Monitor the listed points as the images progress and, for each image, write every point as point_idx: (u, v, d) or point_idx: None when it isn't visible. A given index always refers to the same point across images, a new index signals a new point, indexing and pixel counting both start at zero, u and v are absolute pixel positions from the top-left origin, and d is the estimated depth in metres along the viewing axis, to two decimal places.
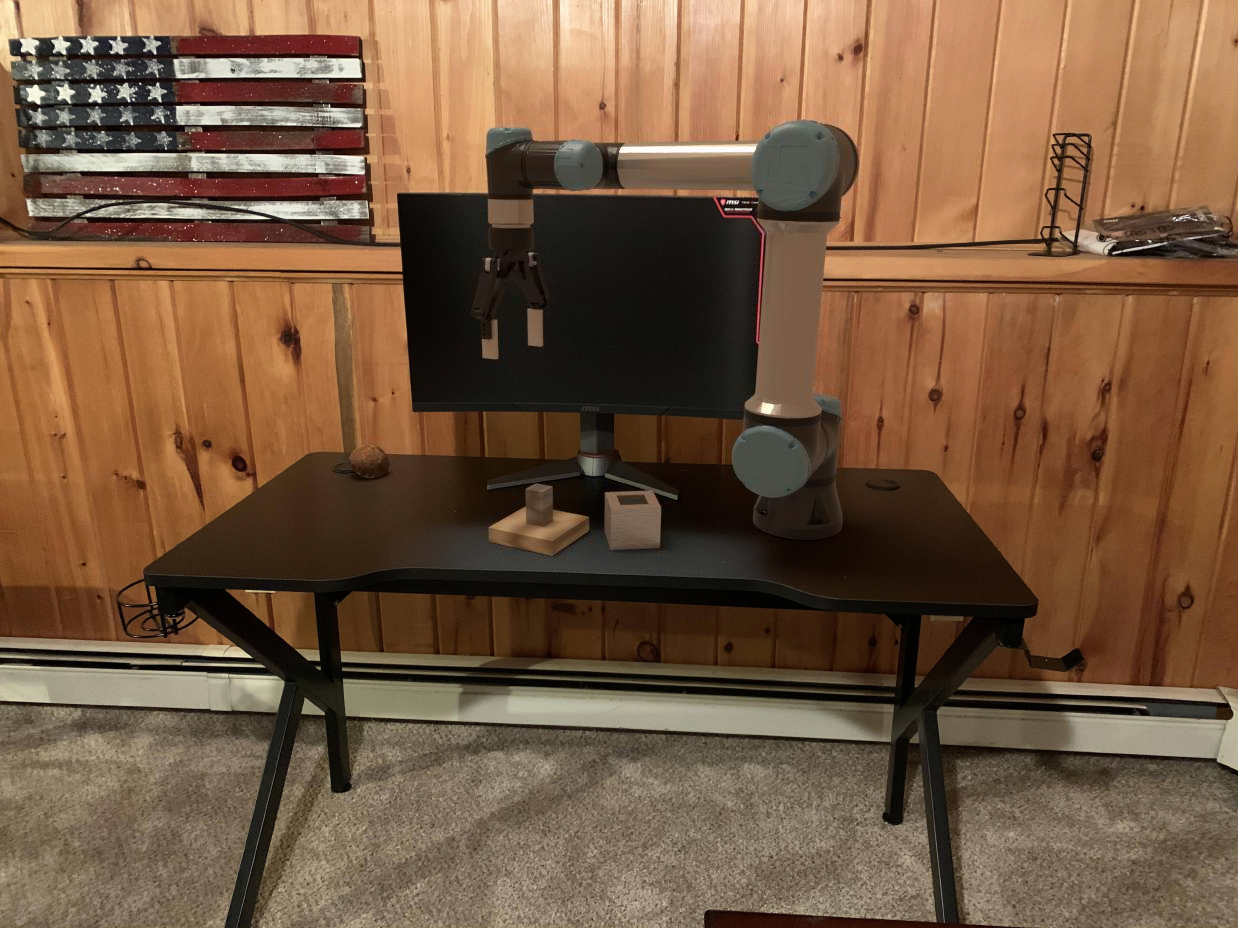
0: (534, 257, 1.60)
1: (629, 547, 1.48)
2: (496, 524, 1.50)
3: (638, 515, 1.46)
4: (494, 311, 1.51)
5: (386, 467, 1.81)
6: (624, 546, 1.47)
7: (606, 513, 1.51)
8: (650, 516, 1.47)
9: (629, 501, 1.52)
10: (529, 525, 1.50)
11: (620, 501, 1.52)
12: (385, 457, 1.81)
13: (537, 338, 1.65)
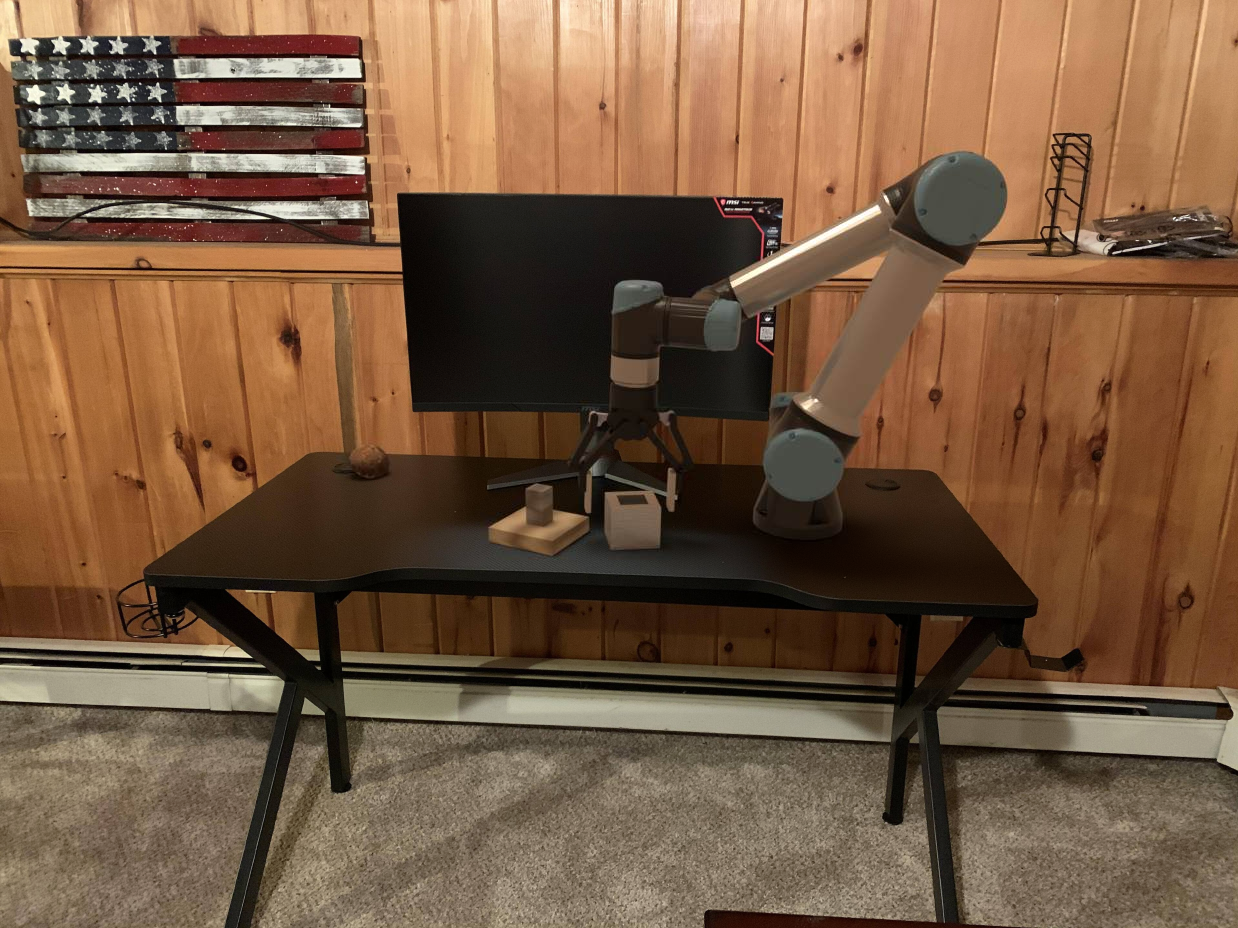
0: (668, 417, 1.45)
1: (629, 547, 1.48)
2: (496, 524, 1.50)
3: (638, 515, 1.46)
4: (588, 465, 1.46)
5: (386, 467, 1.81)
6: (624, 546, 1.47)
7: (606, 513, 1.51)
8: (650, 516, 1.47)
9: (629, 501, 1.52)
10: (529, 525, 1.50)
11: (620, 501, 1.52)
12: (385, 457, 1.81)
13: (669, 501, 1.50)
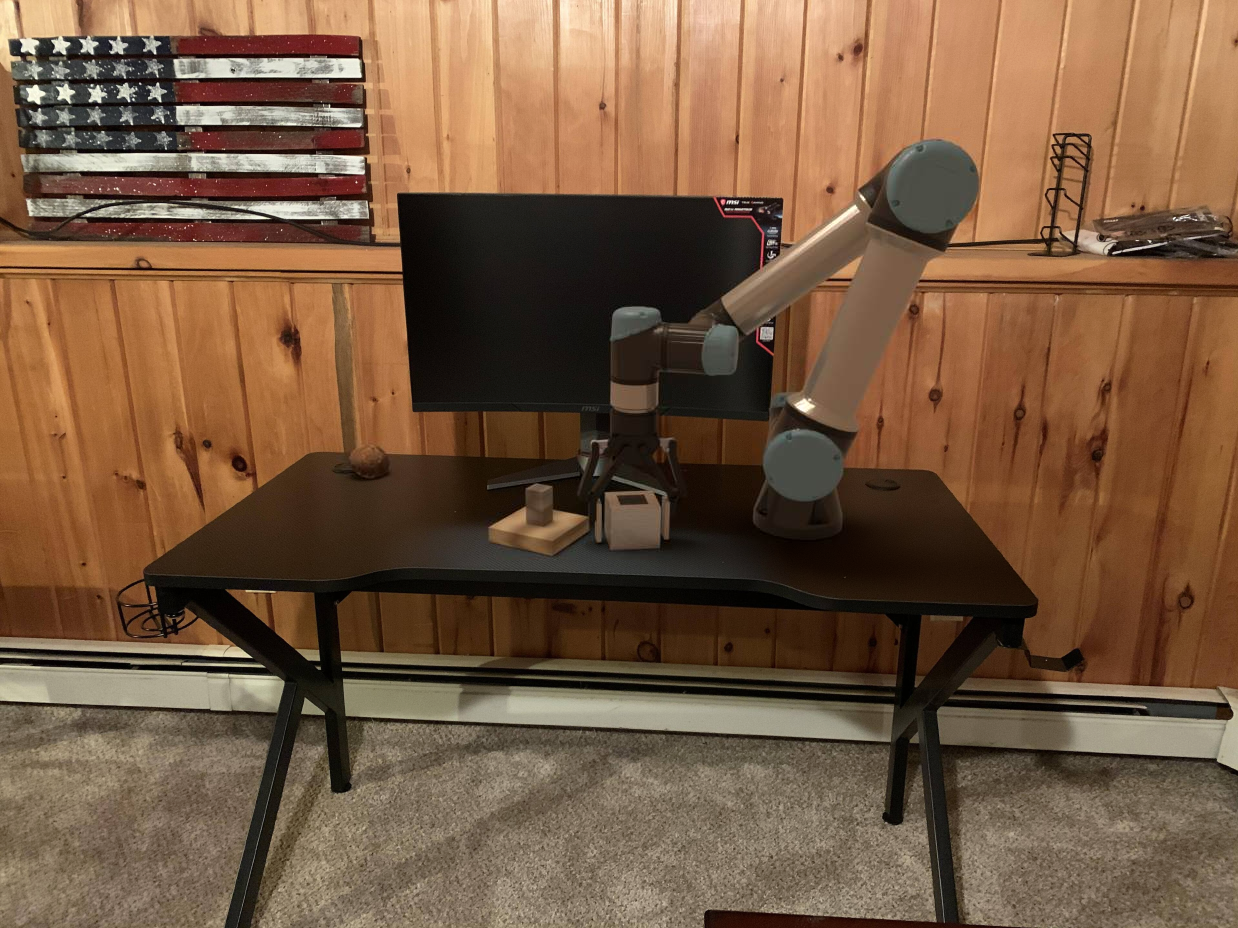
0: (669, 443, 1.47)
1: (629, 547, 1.48)
2: (496, 524, 1.50)
3: (638, 515, 1.46)
4: (597, 495, 1.47)
5: (386, 467, 1.81)
6: (624, 546, 1.47)
7: (606, 513, 1.51)
8: (650, 516, 1.47)
9: (629, 501, 1.52)
10: (529, 525, 1.50)
11: (620, 501, 1.52)
12: (385, 457, 1.81)
13: (663, 529, 1.51)
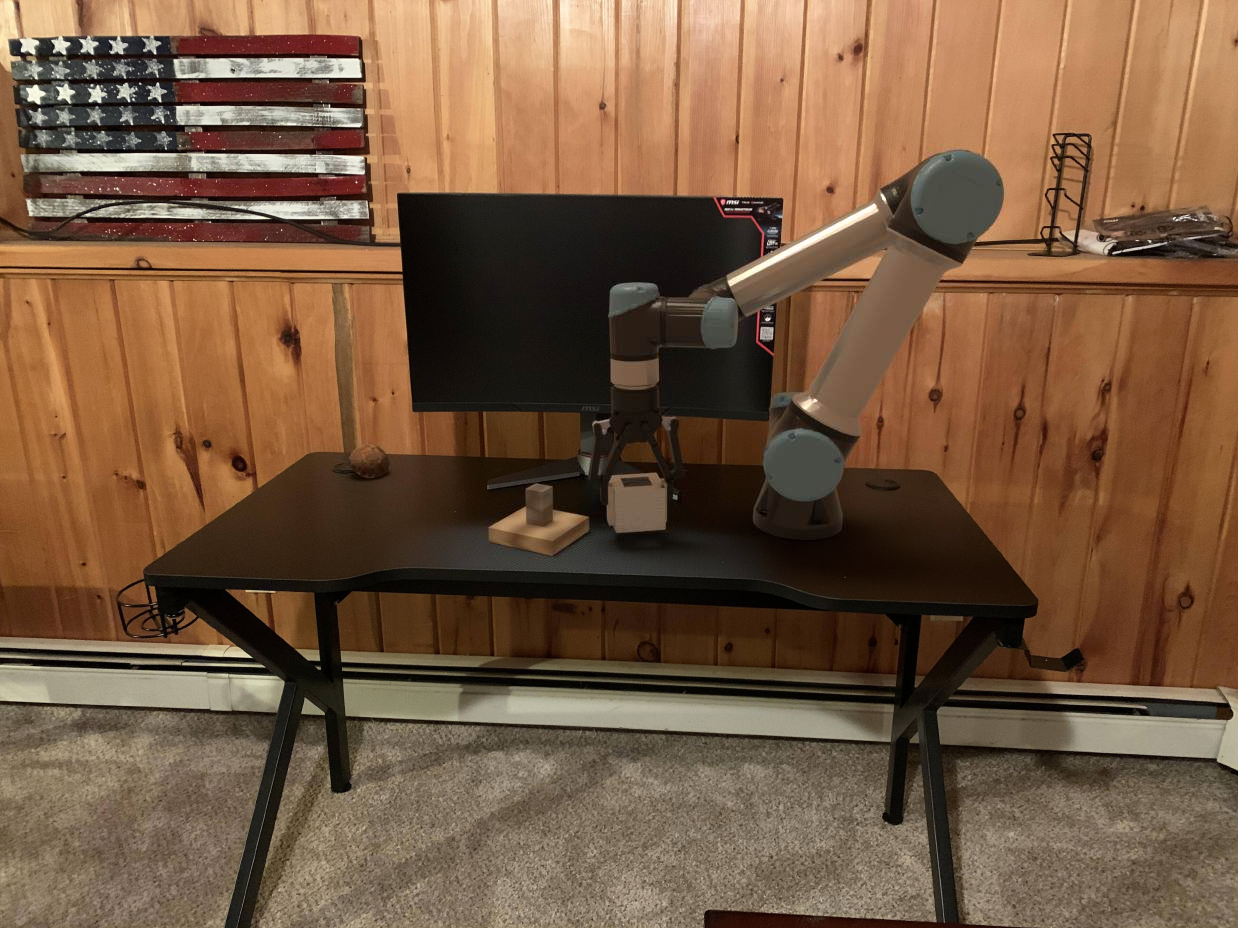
0: (671, 422, 1.45)
1: (634, 529, 1.47)
2: (496, 524, 1.50)
3: (642, 496, 1.45)
4: (608, 477, 1.46)
5: (386, 467, 1.81)
6: (629, 528, 1.46)
7: None
8: (654, 497, 1.45)
9: (633, 484, 1.51)
10: (529, 525, 1.50)
11: (624, 484, 1.51)
12: (385, 457, 1.81)
13: None
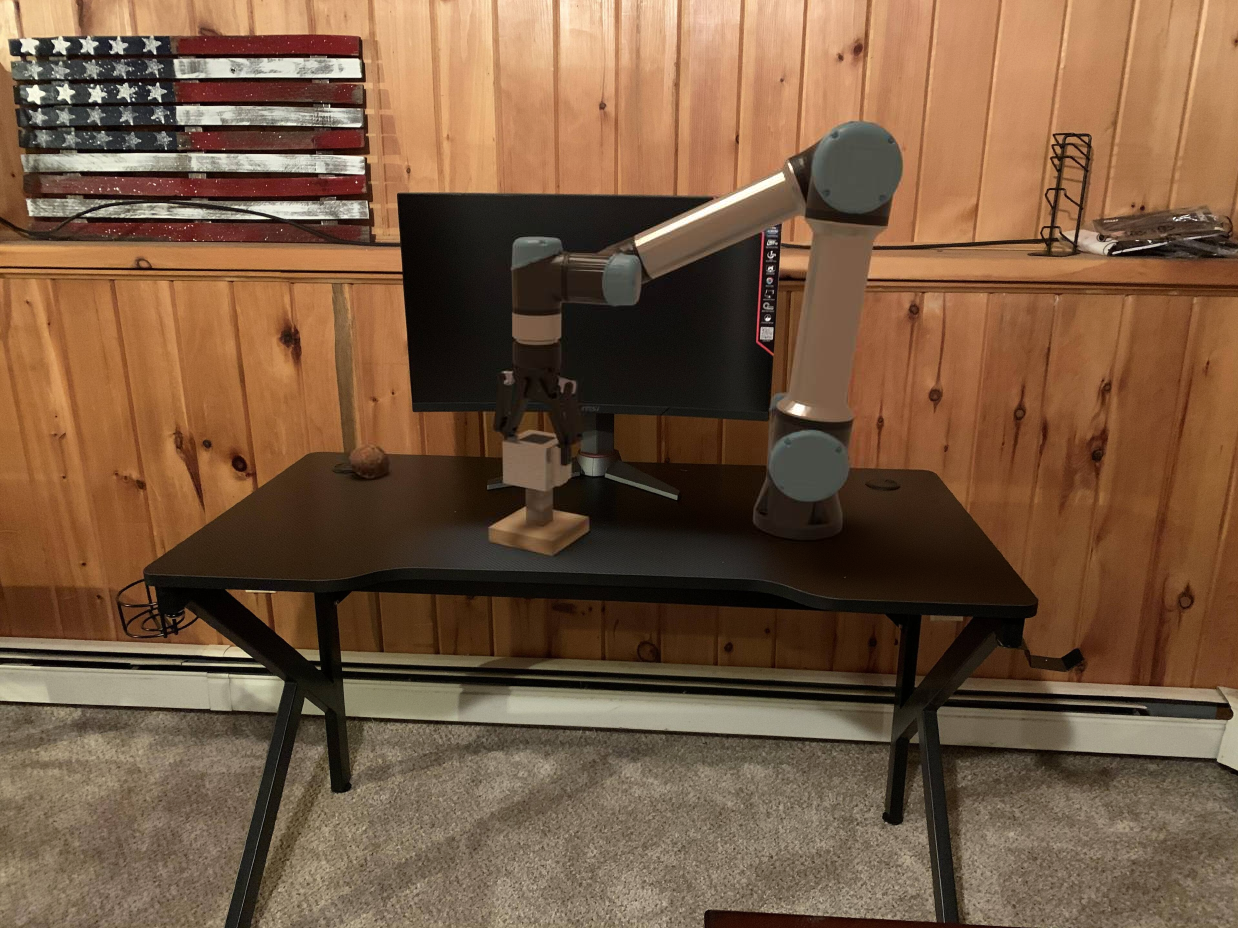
0: (565, 385, 1.41)
1: (519, 484, 1.47)
2: (496, 524, 1.50)
3: (526, 452, 1.44)
4: (508, 428, 1.48)
5: (386, 467, 1.81)
6: (514, 482, 1.47)
7: None
8: (536, 455, 1.44)
9: (544, 442, 1.50)
10: (529, 525, 1.50)
11: (536, 440, 1.50)
12: (385, 457, 1.81)
13: None
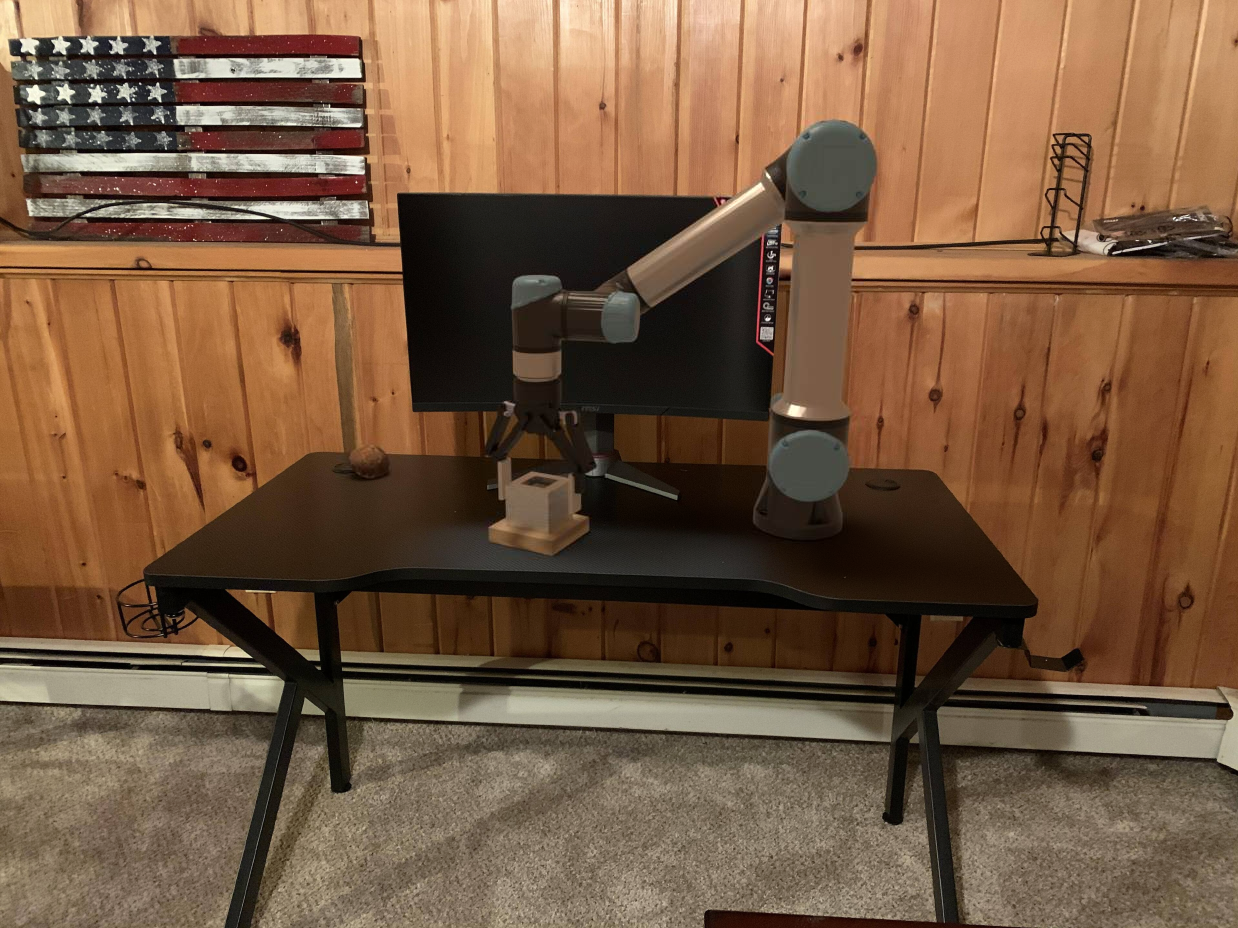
0: None
1: (522, 527, 1.49)
2: (496, 524, 1.50)
3: (528, 496, 1.46)
4: (499, 453, 1.50)
5: (386, 467, 1.81)
6: (517, 524, 1.49)
7: None
8: (539, 499, 1.46)
9: (546, 484, 1.52)
10: None
11: (538, 482, 1.53)
12: (385, 457, 1.81)
13: None
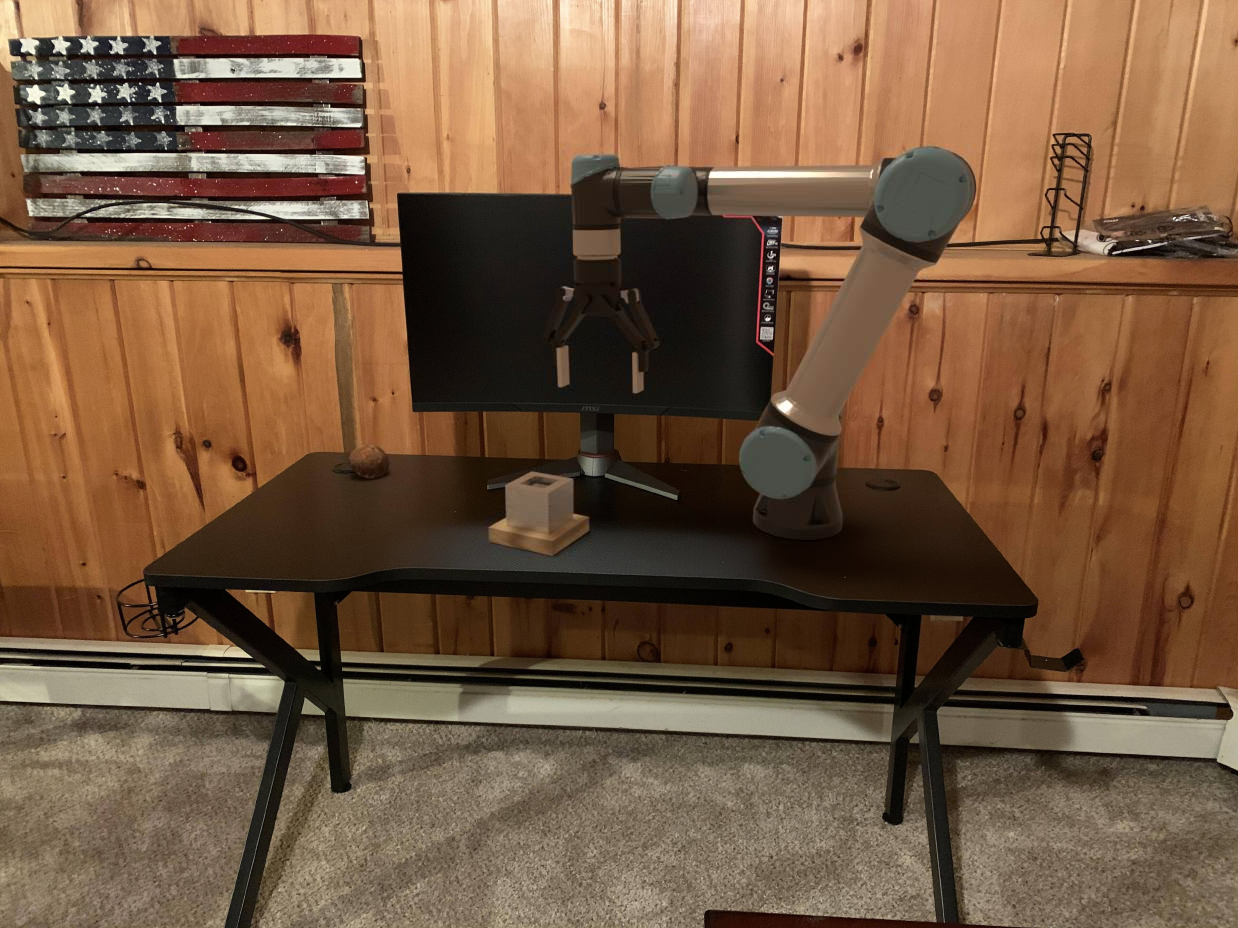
0: None
1: (522, 527, 1.49)
2: (496, 524, 1.50)
3: (528, 496, 1.46)
4: (557, 339, 1.52)
5: (386, 467, 1.81)
6: (517, 524, 1.49)
7: None
8: (539, 499, 1.46)
9: (546, 484, 1.52)
10: None
11: (538, 482, 1.53)
12: (385, 457, 1.81)
13: None
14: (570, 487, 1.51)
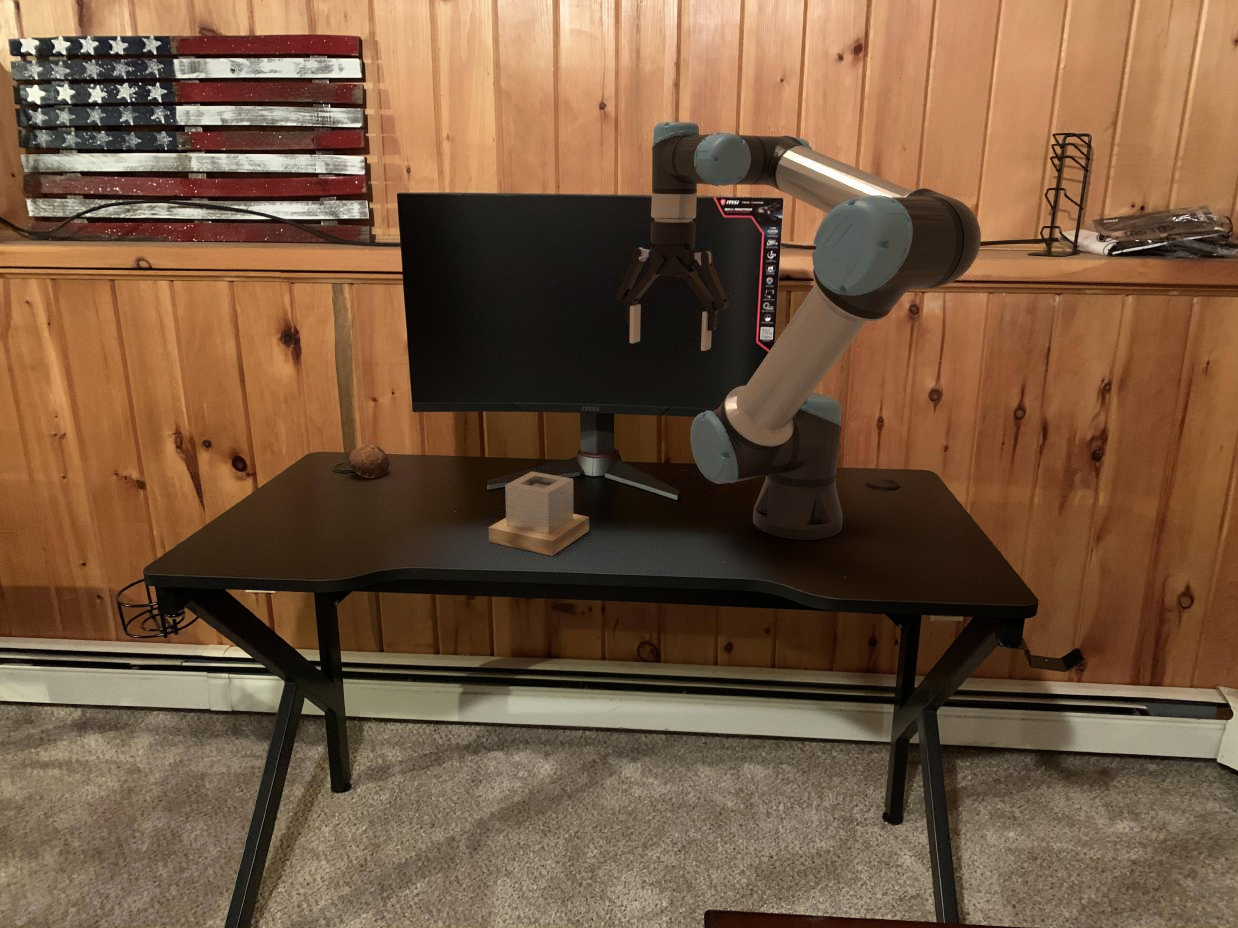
0: (701, 256, 1.53)
1: (522, 527, 1.49)
2: (496, 524, 1.50)
3: (528, 496, 1.46)
4: (631, 297, 1.61)
5: (386, 467, 1.81)
6: (517, 524, 1.49)
7: None
8: (539, 499, 1.46)
9: (546, 484, 1.52)
10: None
11: (538, 482, 1.53)
12: (385, 457, 1.81)
13: None
14: (570, 487, 1.51)
